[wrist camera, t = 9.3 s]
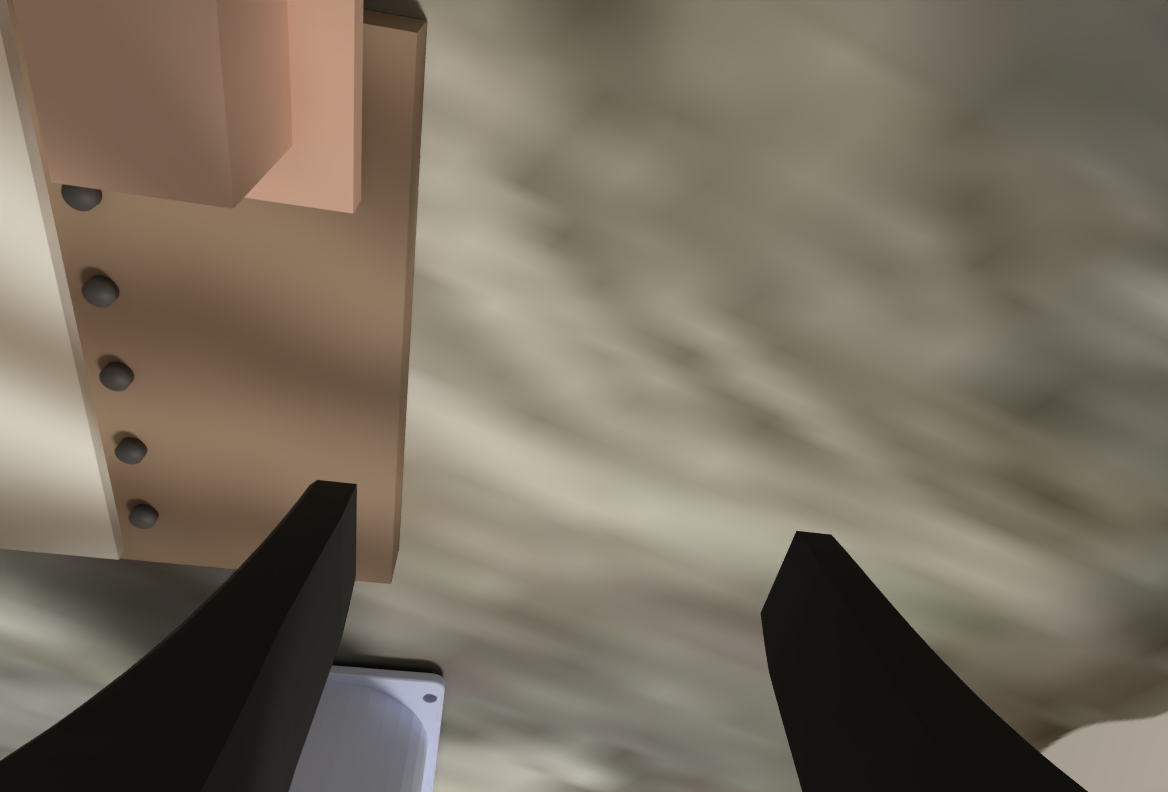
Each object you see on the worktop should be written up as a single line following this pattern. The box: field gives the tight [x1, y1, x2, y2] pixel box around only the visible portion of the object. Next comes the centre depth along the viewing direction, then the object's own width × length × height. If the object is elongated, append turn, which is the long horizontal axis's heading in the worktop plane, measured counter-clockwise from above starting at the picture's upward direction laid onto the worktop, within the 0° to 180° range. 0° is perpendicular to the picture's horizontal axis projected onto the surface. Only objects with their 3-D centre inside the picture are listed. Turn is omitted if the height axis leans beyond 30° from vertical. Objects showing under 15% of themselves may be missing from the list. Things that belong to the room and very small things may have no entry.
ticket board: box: [0, 0, 427, 584], centre depth 20 cm, size 16×14×2 cm
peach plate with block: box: [13, 0, 363, 214], centre depth 13 cm, size 6×5×4 cm
